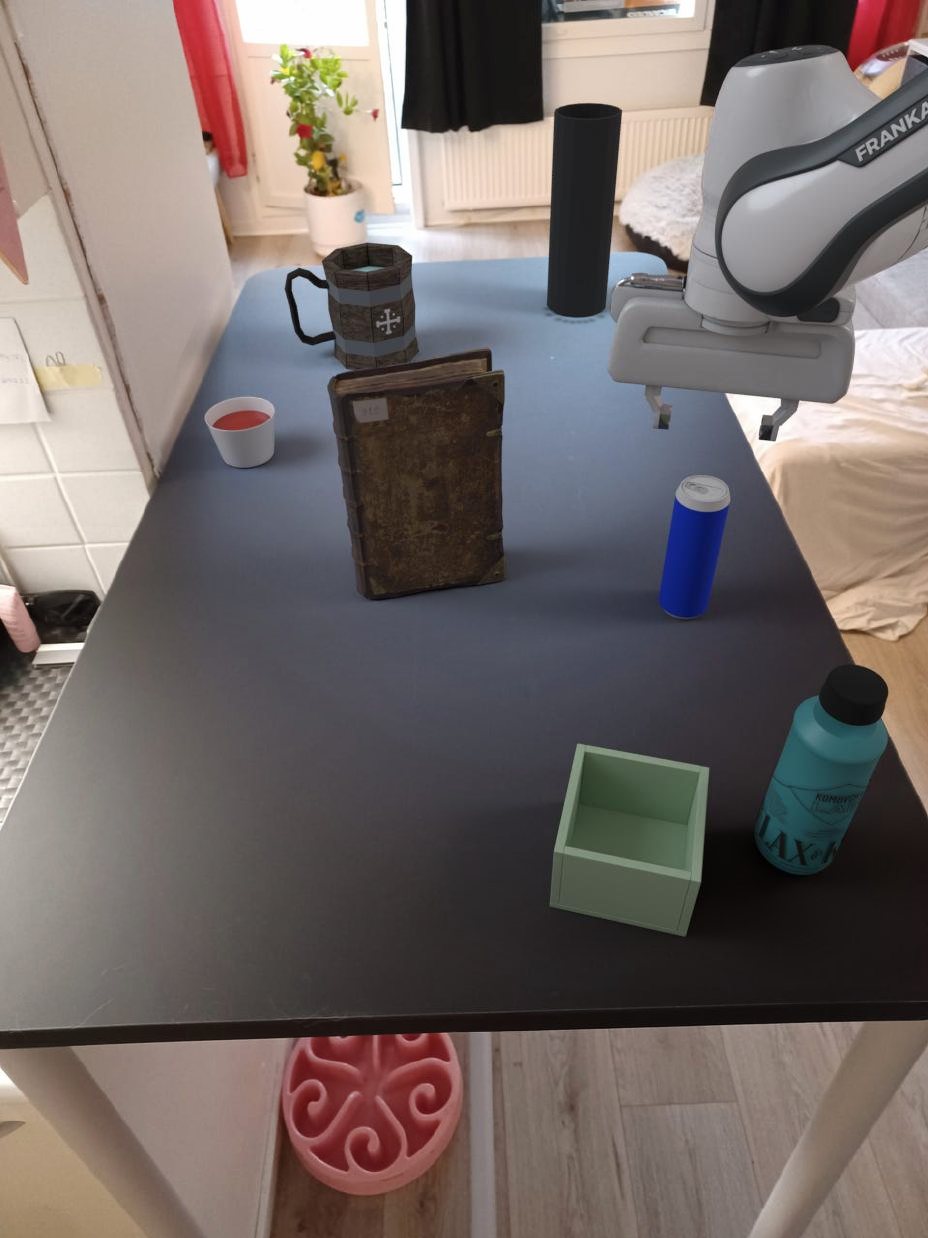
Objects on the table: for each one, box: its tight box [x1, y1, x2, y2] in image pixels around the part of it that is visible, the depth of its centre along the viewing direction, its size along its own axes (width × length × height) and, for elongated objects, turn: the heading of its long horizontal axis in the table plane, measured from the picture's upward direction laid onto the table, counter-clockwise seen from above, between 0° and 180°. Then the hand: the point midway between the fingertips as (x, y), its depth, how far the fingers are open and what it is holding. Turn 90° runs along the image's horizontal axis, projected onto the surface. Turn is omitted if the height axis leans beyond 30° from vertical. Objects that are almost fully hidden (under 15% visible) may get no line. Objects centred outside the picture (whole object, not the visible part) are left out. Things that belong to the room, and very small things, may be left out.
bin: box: [549, 743, 710, 938], centre depth 69 cm, size 10×10×8 cm
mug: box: [284, 242, 420, 371], centre depth 137 cm, size 20×14×15 cm
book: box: [326, 346, 507, 600], centre depth 91 cm, size 17×7×25 cm, turn 99°
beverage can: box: [658, 474, 731, 620], centre depth 90 cm, size 5×5×15 cm
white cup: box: [204, 396, 276, 469], centre depth 118 cm, size 9×9×6 cm
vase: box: [546, 102, 623, 318], centre depth 144 cm, size 10×10×30 cm
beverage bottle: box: [752, 663, 889, 876], centre depth 65 cm, size 6×7×20 cm
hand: (713, 431), depth 81 cm, fingers open, 8 cm apart
